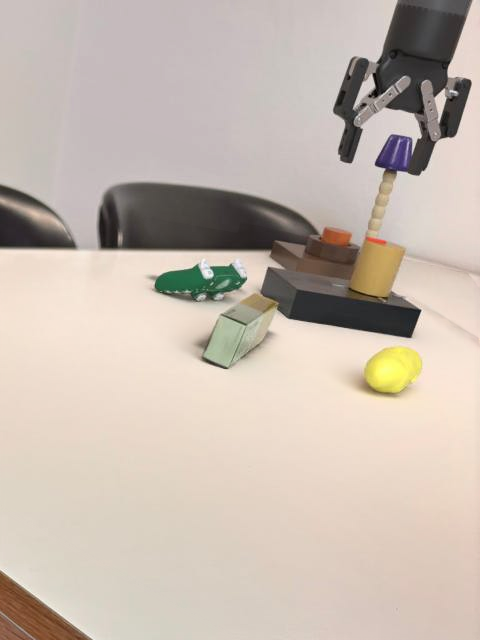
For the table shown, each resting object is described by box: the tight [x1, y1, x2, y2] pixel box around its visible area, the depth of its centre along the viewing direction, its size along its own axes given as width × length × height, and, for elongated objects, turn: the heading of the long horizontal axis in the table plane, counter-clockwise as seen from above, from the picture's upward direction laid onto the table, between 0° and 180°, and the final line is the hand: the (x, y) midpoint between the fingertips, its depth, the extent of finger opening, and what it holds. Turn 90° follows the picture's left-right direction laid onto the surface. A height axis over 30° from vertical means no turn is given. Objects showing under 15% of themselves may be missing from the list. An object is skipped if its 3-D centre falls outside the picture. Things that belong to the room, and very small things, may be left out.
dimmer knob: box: [349, 237, 407, 297], centre depth 114 cm, size 4×4×5 cm
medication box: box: [201, 292, 279, 370], centre depth 94 cm, size 12×3×4 cm, turn 154°
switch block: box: [269, 234, 362, 280], centre depth 137 cm, size 12×10×4 cm
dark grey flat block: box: [259, 266, 422, 339], centre depth 116 cm, size 14×10×3 cm
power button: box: [321, 226, 353, 246], centre depth 136 cm, size 4×4×2 cm
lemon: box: [363, 345, 423, 394], centre depth 92 cm, size 4×8×4 cm, turn 137°
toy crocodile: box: [153, 257, 248, 302], centre depth 111 cm, size 9×4×6 cm
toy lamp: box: [358, 133, 414, 255], centre depth 144 cm, size 5×5×17 cm
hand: (379, 168), depth 123 cm, fingers open, 8 cm apart
